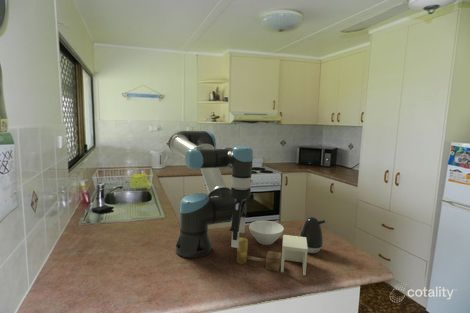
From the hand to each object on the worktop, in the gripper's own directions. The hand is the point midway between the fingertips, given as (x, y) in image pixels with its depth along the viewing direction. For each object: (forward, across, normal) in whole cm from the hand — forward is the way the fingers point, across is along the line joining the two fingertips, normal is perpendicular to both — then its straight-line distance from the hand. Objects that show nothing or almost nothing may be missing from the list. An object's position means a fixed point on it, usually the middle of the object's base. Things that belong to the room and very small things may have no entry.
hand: (238, 239), depth 112 cm
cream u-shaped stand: (+8, 0, -22) cm, 23 cm away
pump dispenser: (+9, +16, -29) cm, 35 cm away
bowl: (+9, +20, -9) cm, 24 cm away
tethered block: (+9, -1, -8) cm, 12 cm away
